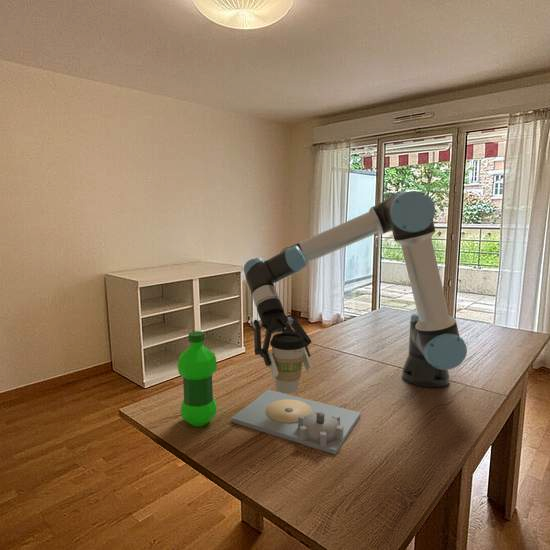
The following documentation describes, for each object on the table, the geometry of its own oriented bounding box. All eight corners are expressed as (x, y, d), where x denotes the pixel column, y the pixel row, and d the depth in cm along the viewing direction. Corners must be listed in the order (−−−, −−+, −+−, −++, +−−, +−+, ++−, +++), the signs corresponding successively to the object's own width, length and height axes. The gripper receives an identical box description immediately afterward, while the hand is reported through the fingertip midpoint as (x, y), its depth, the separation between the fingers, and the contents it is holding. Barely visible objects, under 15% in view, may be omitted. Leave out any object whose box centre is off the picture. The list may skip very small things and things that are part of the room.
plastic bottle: (195, 436, 99) (192, 342, 95) (172, 421, 106) (168, 333, 102) (225, 421, 106) (223, 333, 103) (202, 408, 114) (200, 325, 110)
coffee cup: (280, 399, 102) (280, 345, 100) (263, 385, 111) (264, 334, 108) (311, 392, 107) (312, 339, 104) (293, 378, 115) (294, 330, 113)
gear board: (360, 416, 109) (361, 395, 108) (334, 455, 91) (335, 431, 90) (268, 392, 123) (268, 374, 122) (230, 422, 106) (230, 401, 105)
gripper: (295, 306, 124) (322, 371, 113) (229, 314, 114) (251, 386, 103) (304, 293, 119) (333, 359, 107) (236, 300, 109) (259, 374, 97)
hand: (293, 372), depth 105 cm, fingers closed on coffee cup, 10 cm apart
